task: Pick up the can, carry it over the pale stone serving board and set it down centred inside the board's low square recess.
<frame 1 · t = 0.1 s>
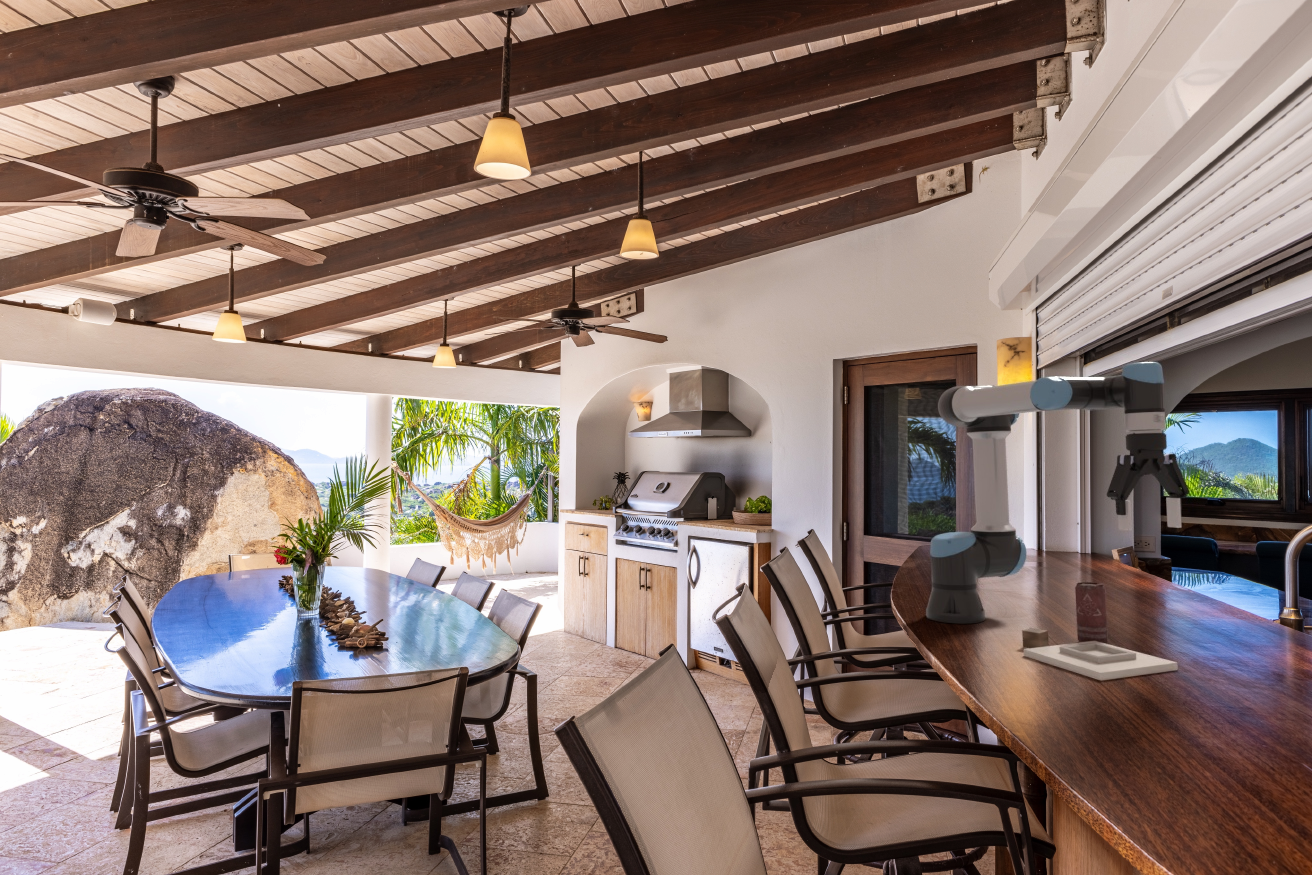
hand: (1150, 528, 163), 28 cm above the counter, fingers open, 13 cm apart
can: (1093, 644, 174), on the counter
board: (1097, 662, 158), on the counter
walnut block: (1035, 647, 172), on the counter
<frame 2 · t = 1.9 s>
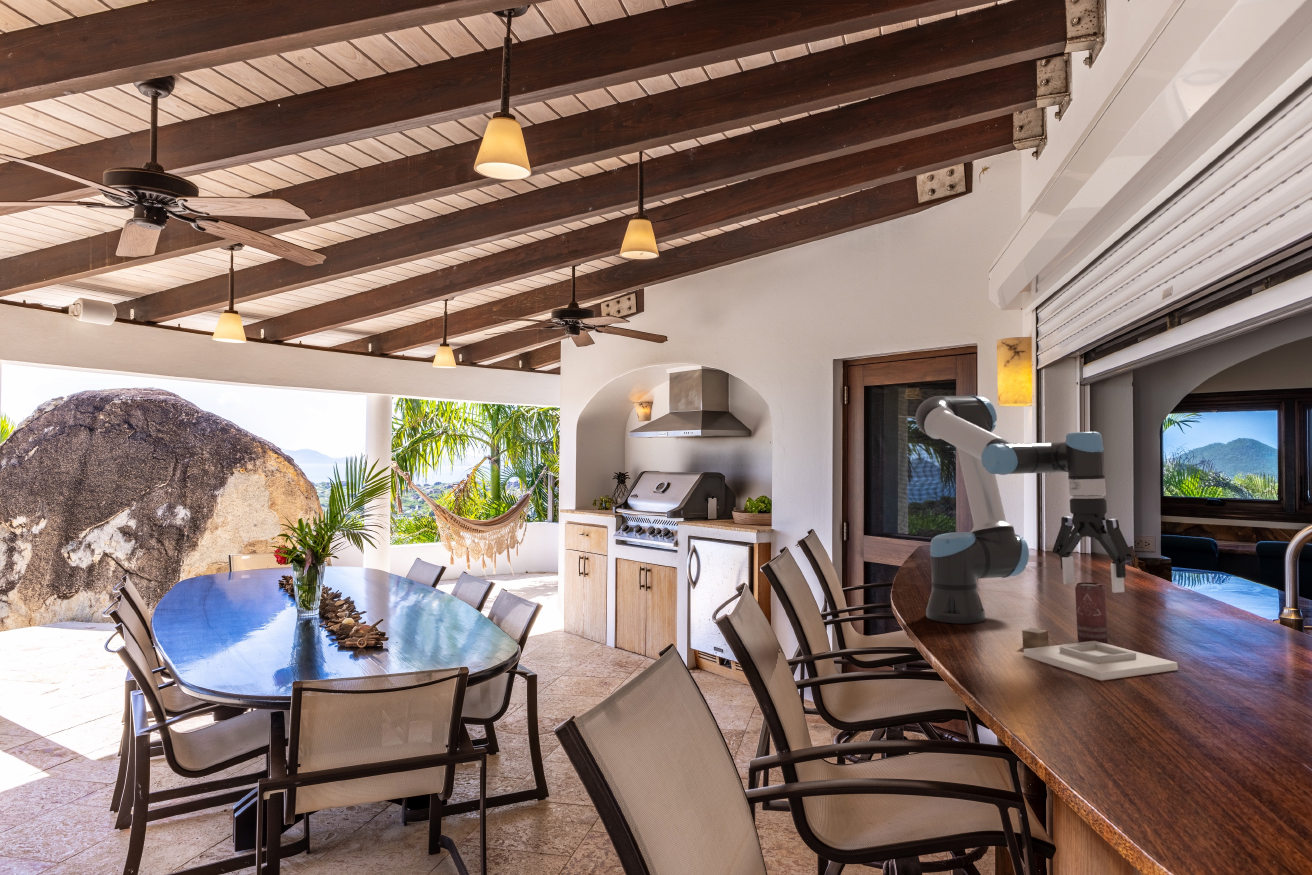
hand: (1092, 588, 173), 13 cm above the counter, fingers open, 13 cm apart
nothing on the counter moved.
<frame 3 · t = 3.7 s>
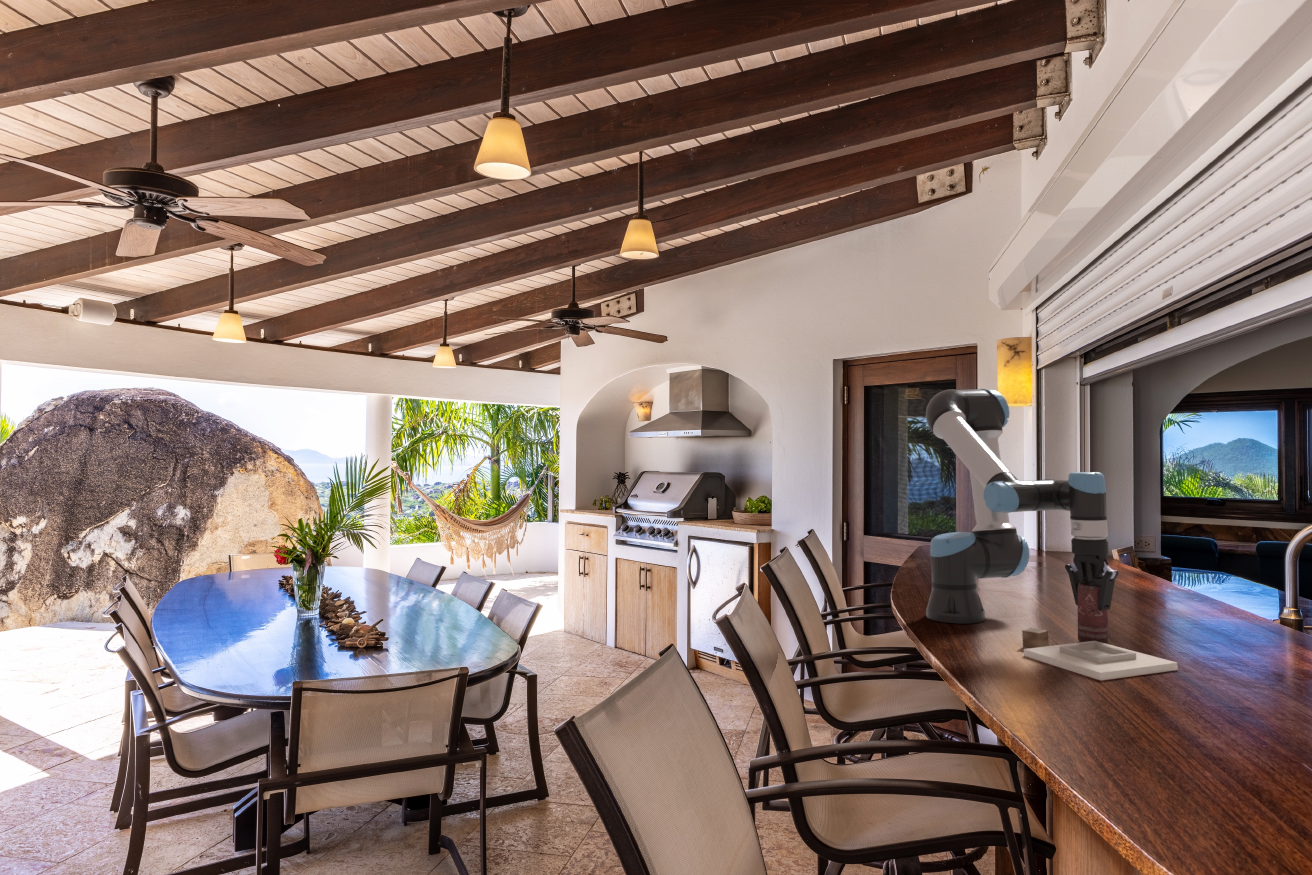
hand: (1093, 638, 173), 1 cm above the counter, fingers closed
can: (1093, 643, 174), on the counter, touching hand
everything else where it was.
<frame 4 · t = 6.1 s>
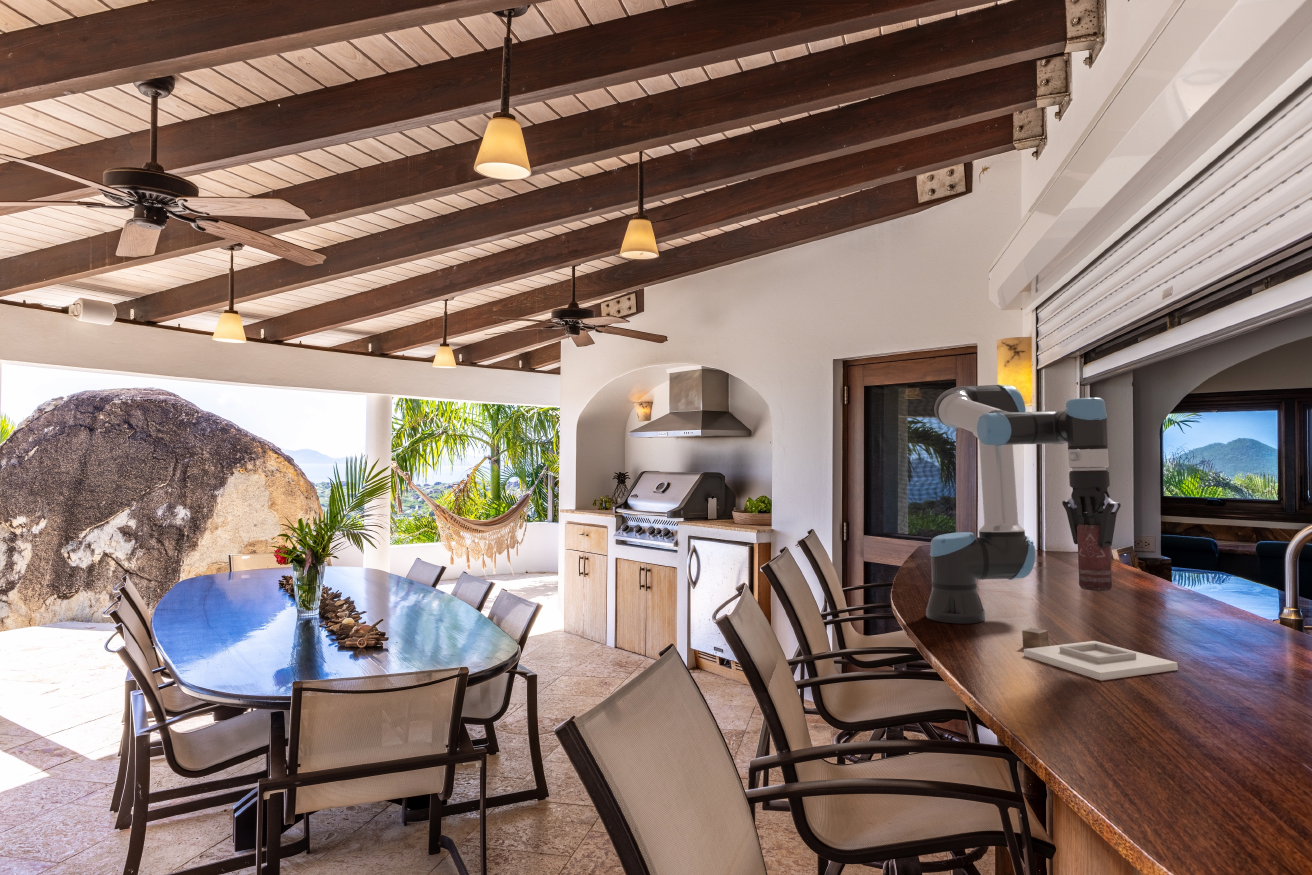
hand: (1094, 578, 159), 18 cm above the counter, fingers closed
can: (1096, 589, 159), point 16 cm above the counter, touching hand
everything else where it was.
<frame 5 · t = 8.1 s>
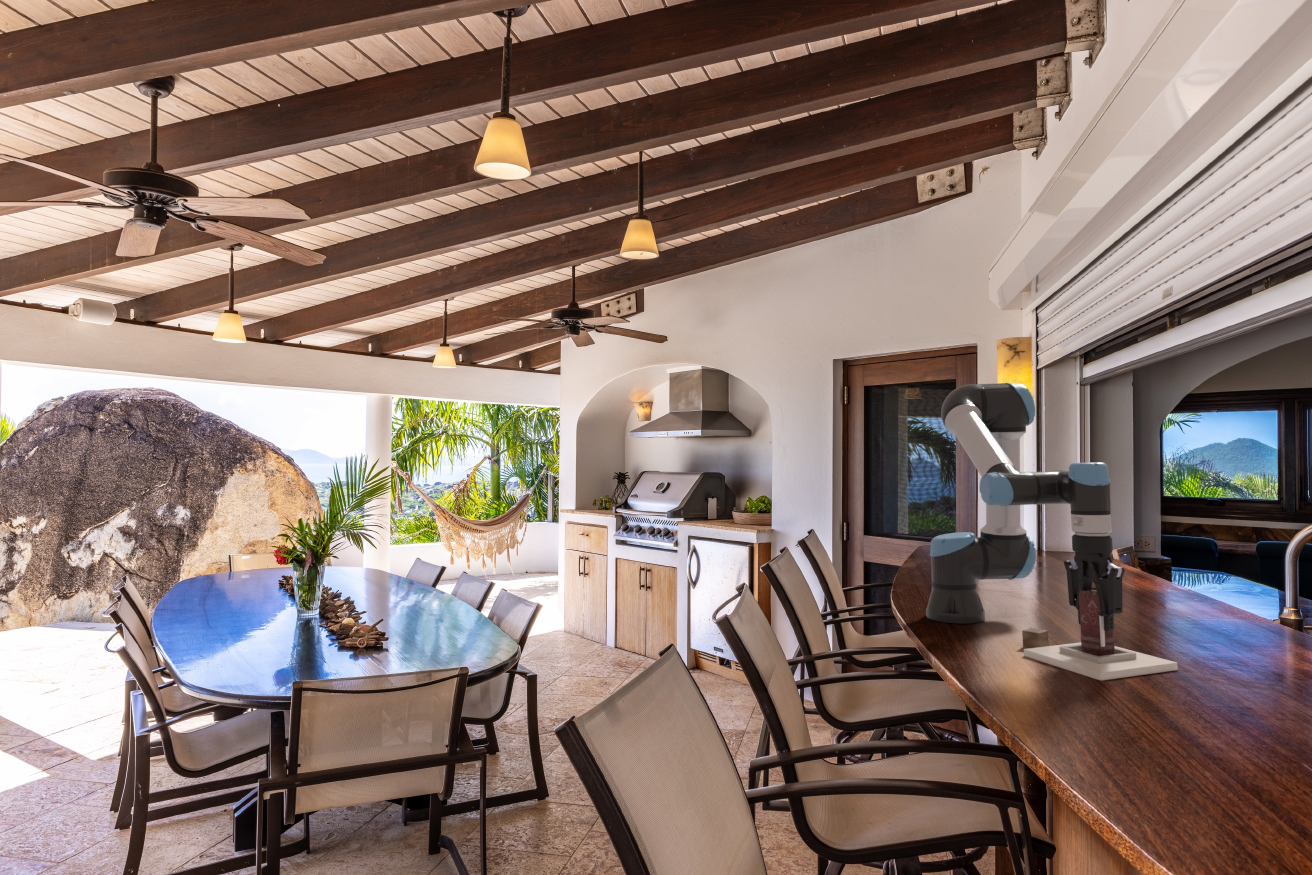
hand: (1096, 643, 158), 4 cm above the counter, fingers open, 4 cm apart
can: (1098, 655, 159), point 1 cm above the counter, touching board
everything else where it was.
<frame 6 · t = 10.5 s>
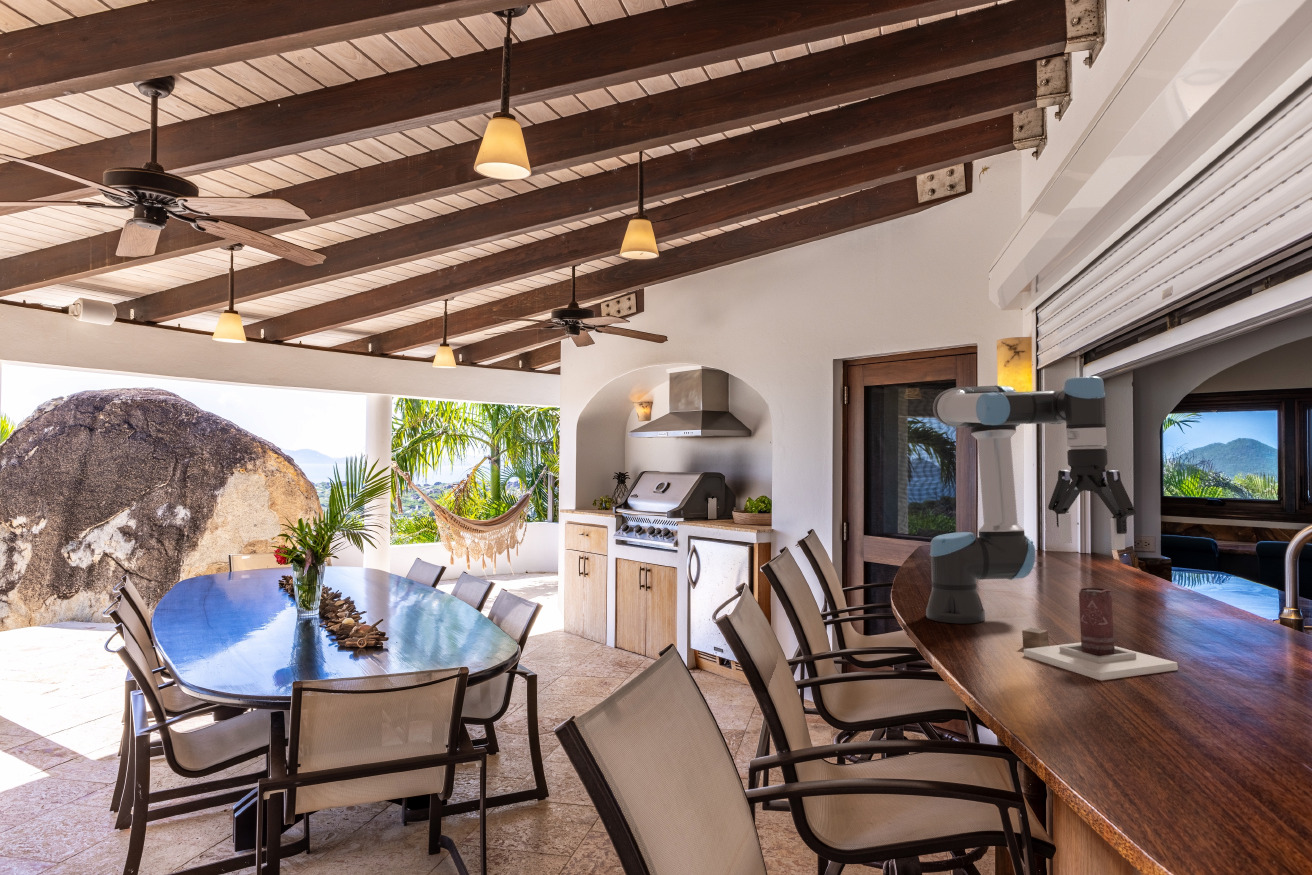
hand: (1090, 546, 160), 25 cm above the counter, fingers open, 13 cm apart
nothing on the counter moved.
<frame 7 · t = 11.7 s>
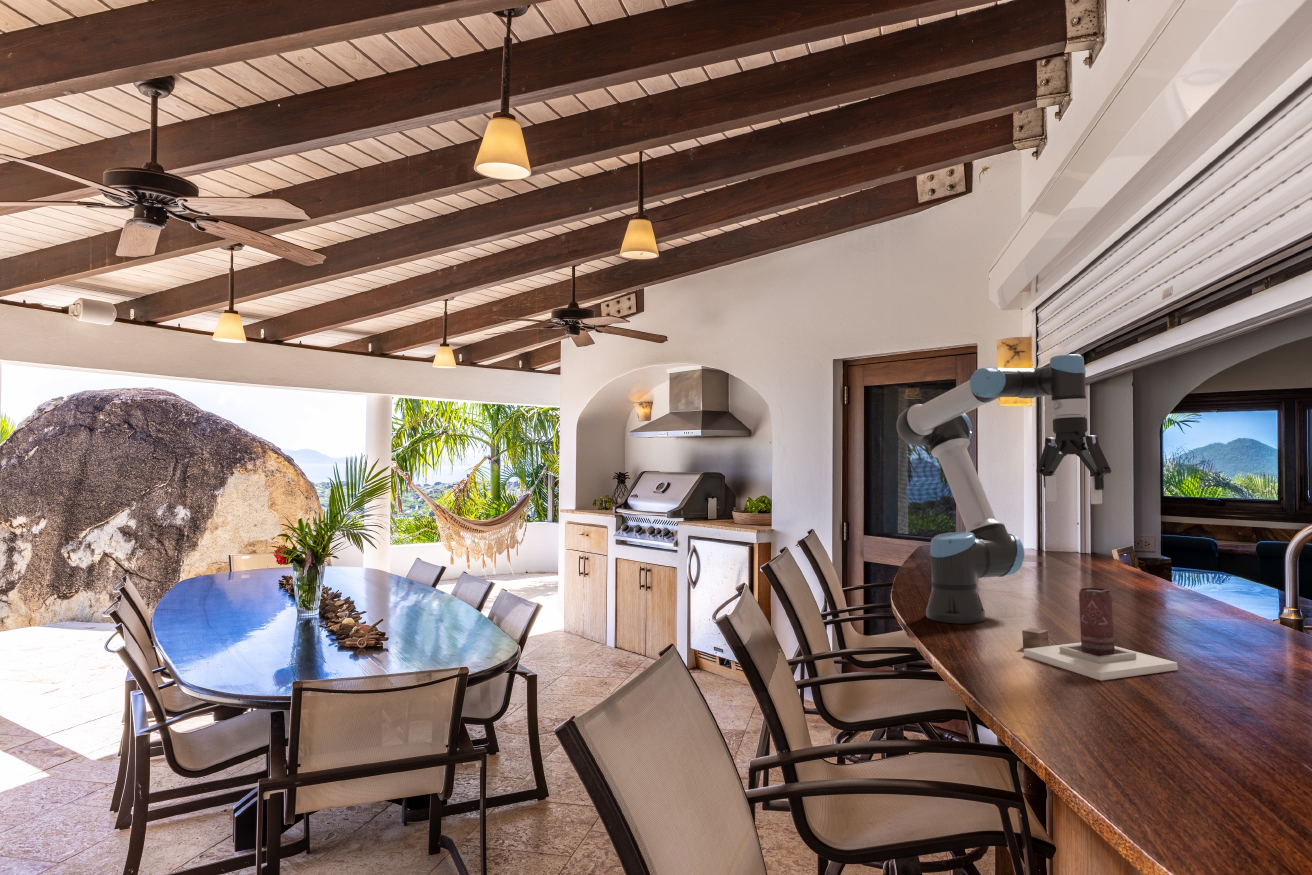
hand: (1073, 502, 183), 33 cm above the counter, fingers open, 13 cm apart
nothing on the counter moved.
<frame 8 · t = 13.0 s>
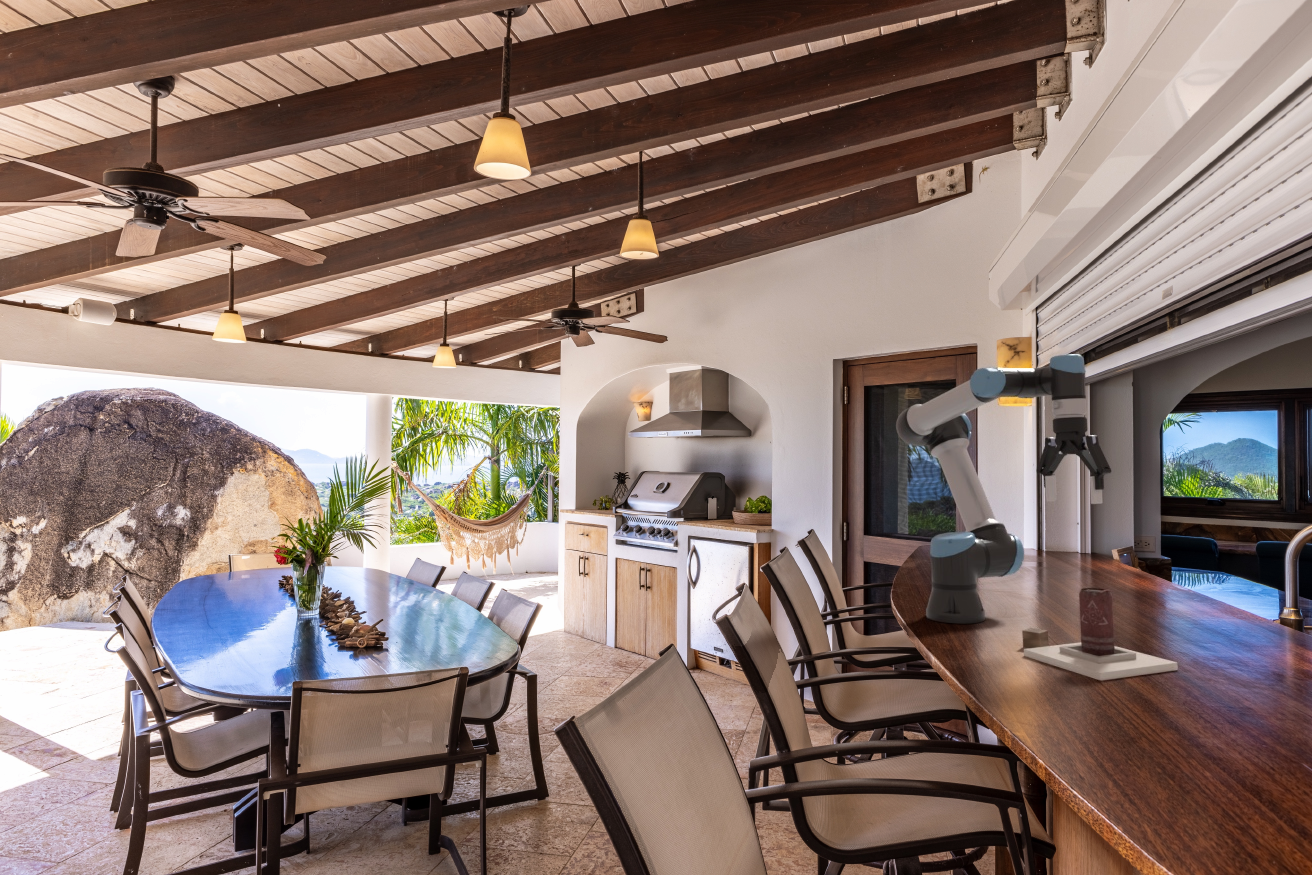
hand: (1073, 502, 183), 33 cm above the counter, fingers open, 13 cm apart
nothing on the counter moved.
at the end: can 0.6 cm off-centre on the board, point 1.3 cm above the board's base; can tilted 0°; can touching board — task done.
